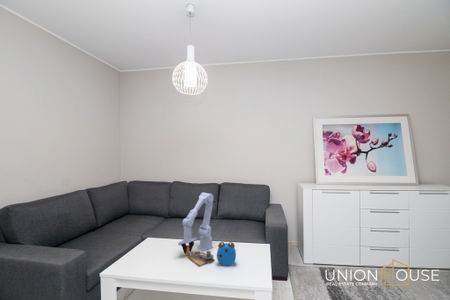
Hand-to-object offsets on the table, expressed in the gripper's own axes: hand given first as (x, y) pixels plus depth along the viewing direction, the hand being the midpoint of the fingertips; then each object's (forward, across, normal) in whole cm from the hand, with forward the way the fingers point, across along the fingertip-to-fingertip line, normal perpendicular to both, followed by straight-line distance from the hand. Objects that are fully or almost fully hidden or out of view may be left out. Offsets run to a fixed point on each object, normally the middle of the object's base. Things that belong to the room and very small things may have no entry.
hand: (187, 252), depth 167 cm
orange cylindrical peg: (+2, 0, 0) cm, 2 cm away
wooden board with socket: (+2, -4, +12) cm, 13 cm away
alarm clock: (+2, -15, +28) cm, 32 cm away
